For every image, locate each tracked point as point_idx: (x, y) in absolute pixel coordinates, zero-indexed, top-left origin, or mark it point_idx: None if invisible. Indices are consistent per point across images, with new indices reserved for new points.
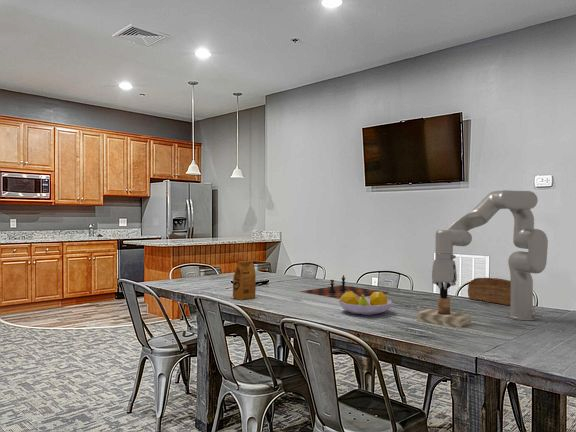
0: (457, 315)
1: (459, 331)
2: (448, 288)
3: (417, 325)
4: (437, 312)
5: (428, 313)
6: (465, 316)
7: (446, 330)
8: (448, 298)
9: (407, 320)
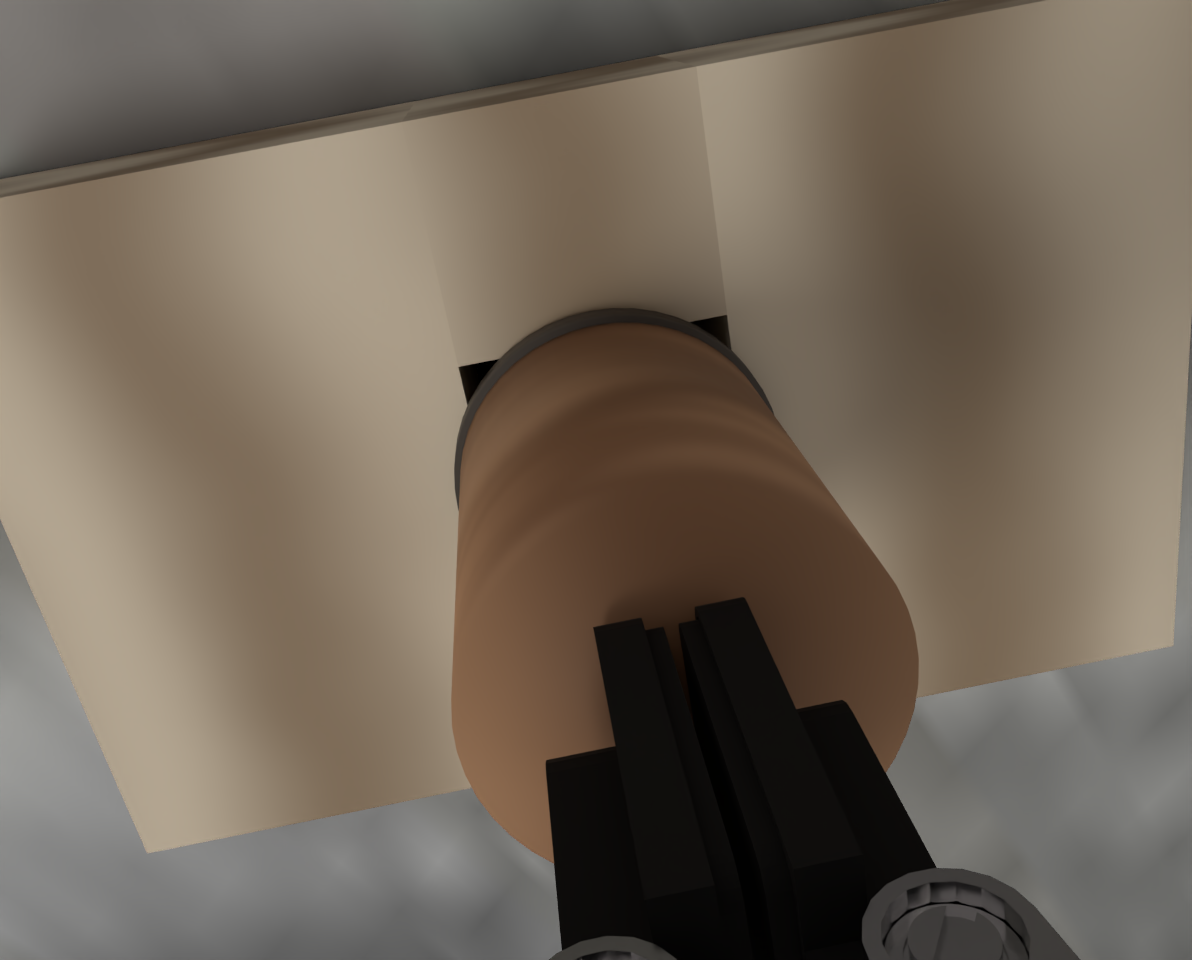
0: (982, 394)
1: (1166, 734)
2: (999, 896)
3: (479, 951)
4: (438, 505)
5: (400, 762)
6: (1177, 327)
7: (986, 839)
8: (862, 648)
9: (70, 837)
